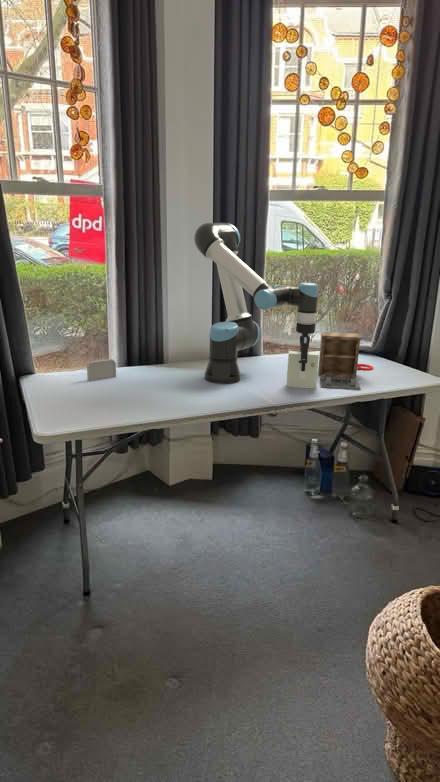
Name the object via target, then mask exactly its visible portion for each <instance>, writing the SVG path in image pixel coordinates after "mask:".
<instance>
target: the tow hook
mask: <svg viewBox="0 0 440 782" xmlns="http://www.w3.org/2000/svg"><path fill="white" fill-rule="evenodd" d="M359 348H360V346H359ZM357 370H362V371H373V370H374V366H373V365H370V364H366V363H358V364H357Z"/></svg>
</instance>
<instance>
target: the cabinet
mask: <svg viewBox="0 0 440 782" xmlns="http://www.w3.org/2000/svg"><path fill="white" fill-rule="evenodd" d="M360 344H361V336H360V334H359V333H354V332H353V333H352V332H333V331H331V332H330V331H321V334H320V346H319V347H320V348H319V359H318V371H317V374H318V376H320V377H325V372H327V373H330V377H331V378H332V377H335V378H348V379H349V374H354V378H355V379H357V373H358V371H357V364H359V356H360V355H359V354H360V347H359V346H360Z"/></svg>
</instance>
